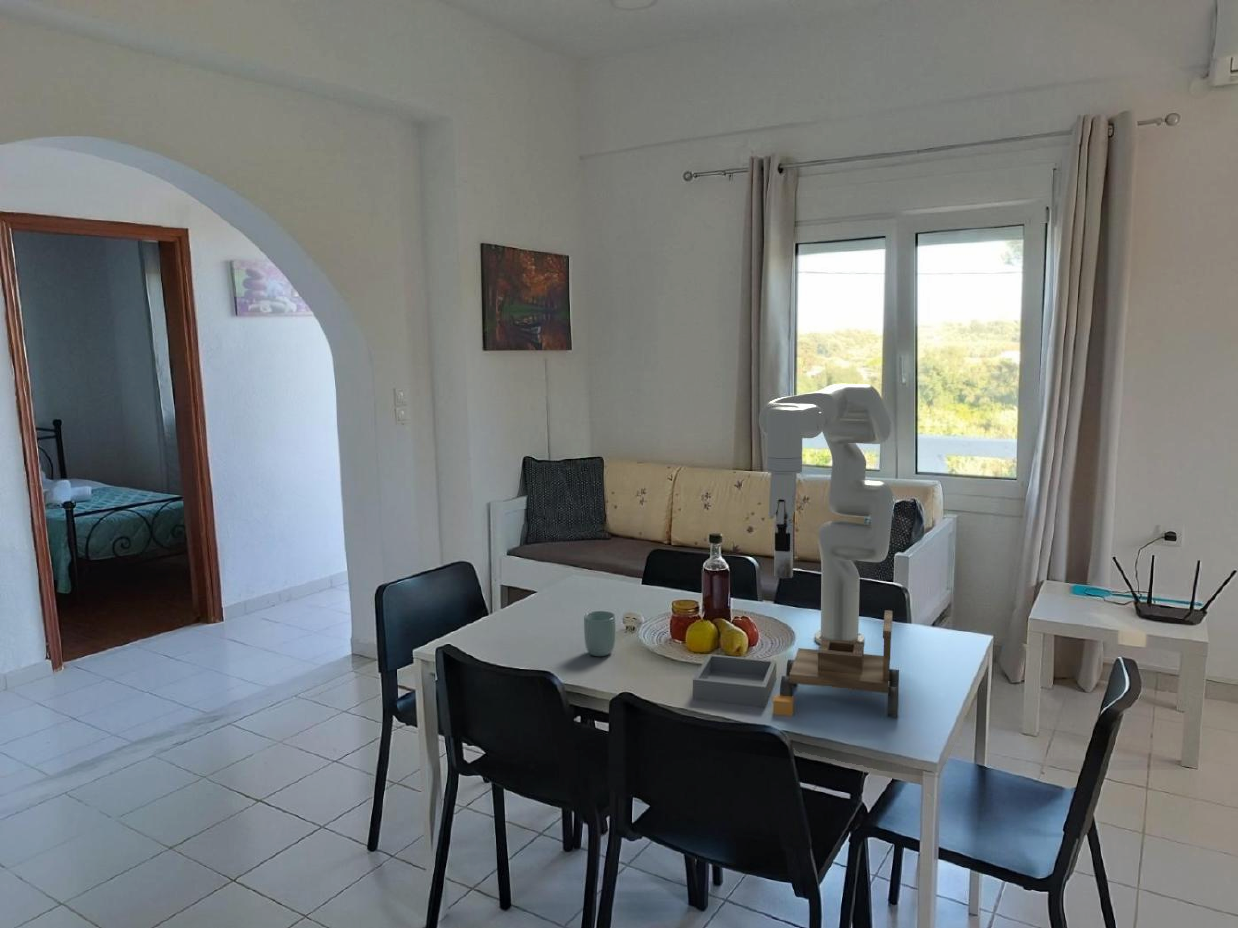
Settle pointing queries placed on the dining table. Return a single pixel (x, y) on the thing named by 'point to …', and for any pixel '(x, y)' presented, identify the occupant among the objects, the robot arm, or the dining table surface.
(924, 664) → the dining table surface
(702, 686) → the tray
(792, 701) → the orange block
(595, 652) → the cup
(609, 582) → the dining table surface
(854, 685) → the trolley
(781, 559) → the pin
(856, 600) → the robot arm
